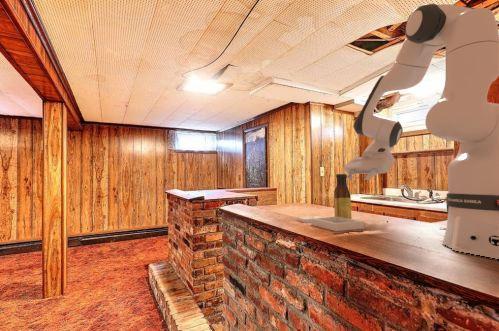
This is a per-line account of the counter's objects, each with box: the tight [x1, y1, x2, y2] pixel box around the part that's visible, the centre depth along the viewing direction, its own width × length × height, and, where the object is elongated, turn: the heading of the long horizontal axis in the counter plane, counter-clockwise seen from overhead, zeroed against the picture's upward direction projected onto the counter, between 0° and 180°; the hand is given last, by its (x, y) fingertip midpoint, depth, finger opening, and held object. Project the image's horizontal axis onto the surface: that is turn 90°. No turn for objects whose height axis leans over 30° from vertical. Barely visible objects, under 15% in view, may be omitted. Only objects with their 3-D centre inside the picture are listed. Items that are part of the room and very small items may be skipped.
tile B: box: [296, 216, 312, 223], centre depth 98 cm, size 5×5×1 cm
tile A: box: [310, 215, 325, 218], centre depth 100 cm, size 5×5×1 cm
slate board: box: [291, 218, 312, 224], centre depth 100 cm, size 10×12×1 cm
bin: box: [311, 216, 365, 236], centre depth 87 cm, size 12×13×4 cm
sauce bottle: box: [333, 173, 353, 219], centre depth 100 cm, size 6×6×20 cm
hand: (357, 178), depth 104 cm, fingers open, 8 cm apart
